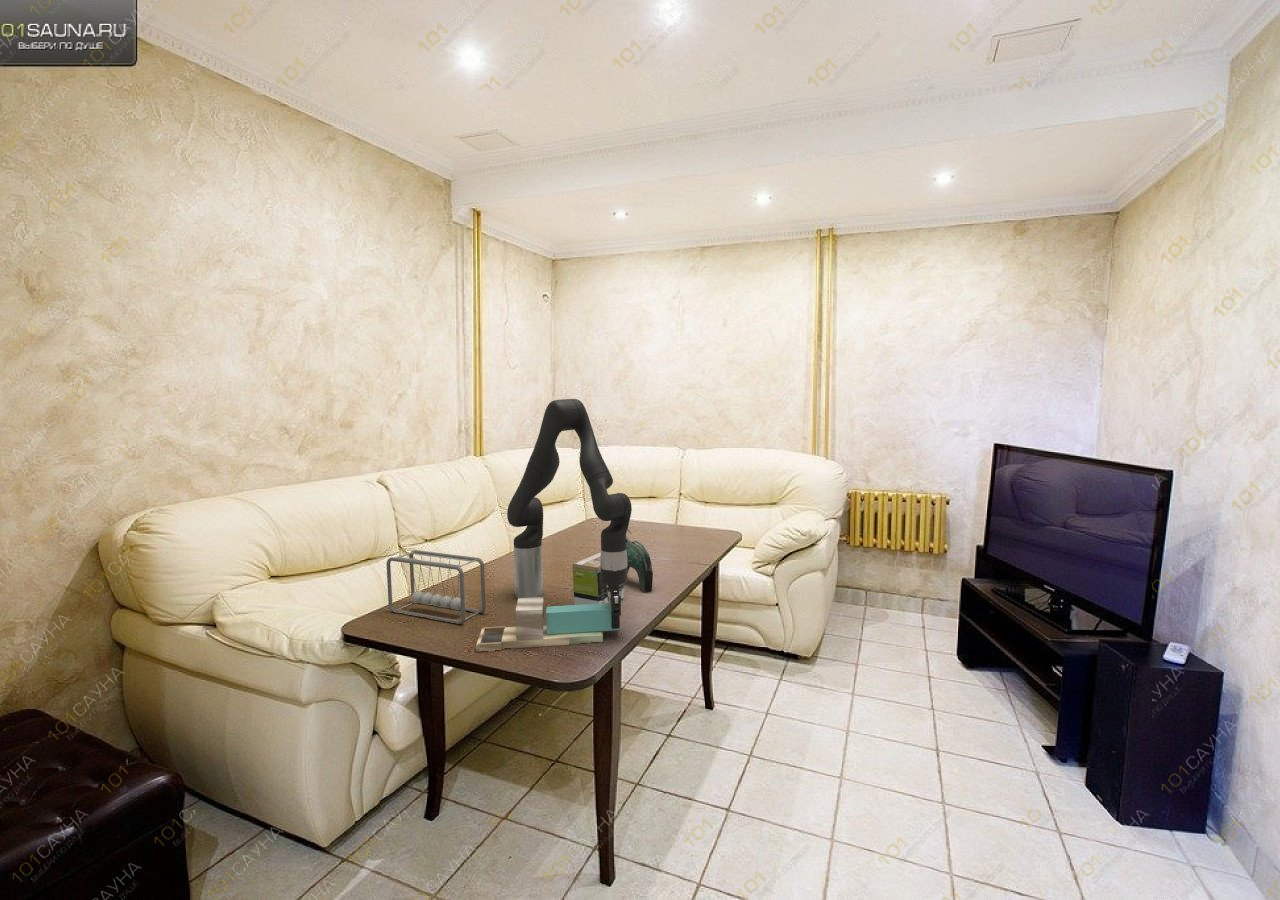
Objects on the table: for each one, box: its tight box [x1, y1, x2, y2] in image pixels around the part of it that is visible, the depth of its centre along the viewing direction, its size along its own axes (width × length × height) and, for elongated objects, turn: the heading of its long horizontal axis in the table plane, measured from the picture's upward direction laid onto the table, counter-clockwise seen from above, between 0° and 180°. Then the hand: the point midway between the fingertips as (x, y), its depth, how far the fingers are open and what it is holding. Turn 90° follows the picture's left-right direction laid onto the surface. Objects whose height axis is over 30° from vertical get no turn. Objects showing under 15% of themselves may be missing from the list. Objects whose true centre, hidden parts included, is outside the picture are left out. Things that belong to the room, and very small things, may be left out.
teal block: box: [545, 603, 621, 634], centre depth 162 cm, size 5×20×6 cm, turn 98°
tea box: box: [572, 552, 625, 605], centre depth 189 cm, size 15×10×15 cm
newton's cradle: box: [386, 549, 487, 625], centre depth 181 cm, size 30×10×18 cm, turn 66°
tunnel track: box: [475, 596, 604, 652], centre depth 161 cm, size 12×33×10 cm, turn 98°
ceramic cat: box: [626, 528, 654, 593], centre depth 206 cm, size 20×6×20 cm, turn 37°
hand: (614, 624), depth 164 cm, fingers closed on teal block, 5 cm apart
